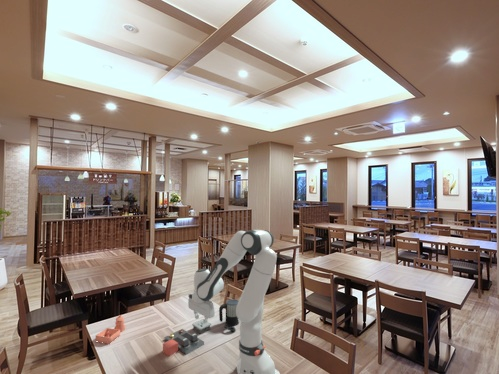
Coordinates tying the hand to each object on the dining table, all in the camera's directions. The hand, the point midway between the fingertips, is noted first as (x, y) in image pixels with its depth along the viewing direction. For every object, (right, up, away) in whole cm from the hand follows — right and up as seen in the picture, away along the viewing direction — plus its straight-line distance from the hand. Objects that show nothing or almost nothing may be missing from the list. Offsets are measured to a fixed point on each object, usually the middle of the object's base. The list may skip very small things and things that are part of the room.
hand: (201, 320), depth 150 cm
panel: (-11, -15, +4) cm, 19 cm away
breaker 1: (-9, -14, -1) cm, 16 cm away
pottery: (-57, -16, +11) cm, 60 cm away
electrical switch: (0, -16, +16) cm, 23 cm away
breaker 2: (-5, -14, +4) cm, 15 cm away
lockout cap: (-16, -15, -5) cm, 23 cm away
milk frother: (+16, -16, +23) cm, 33 cm away
